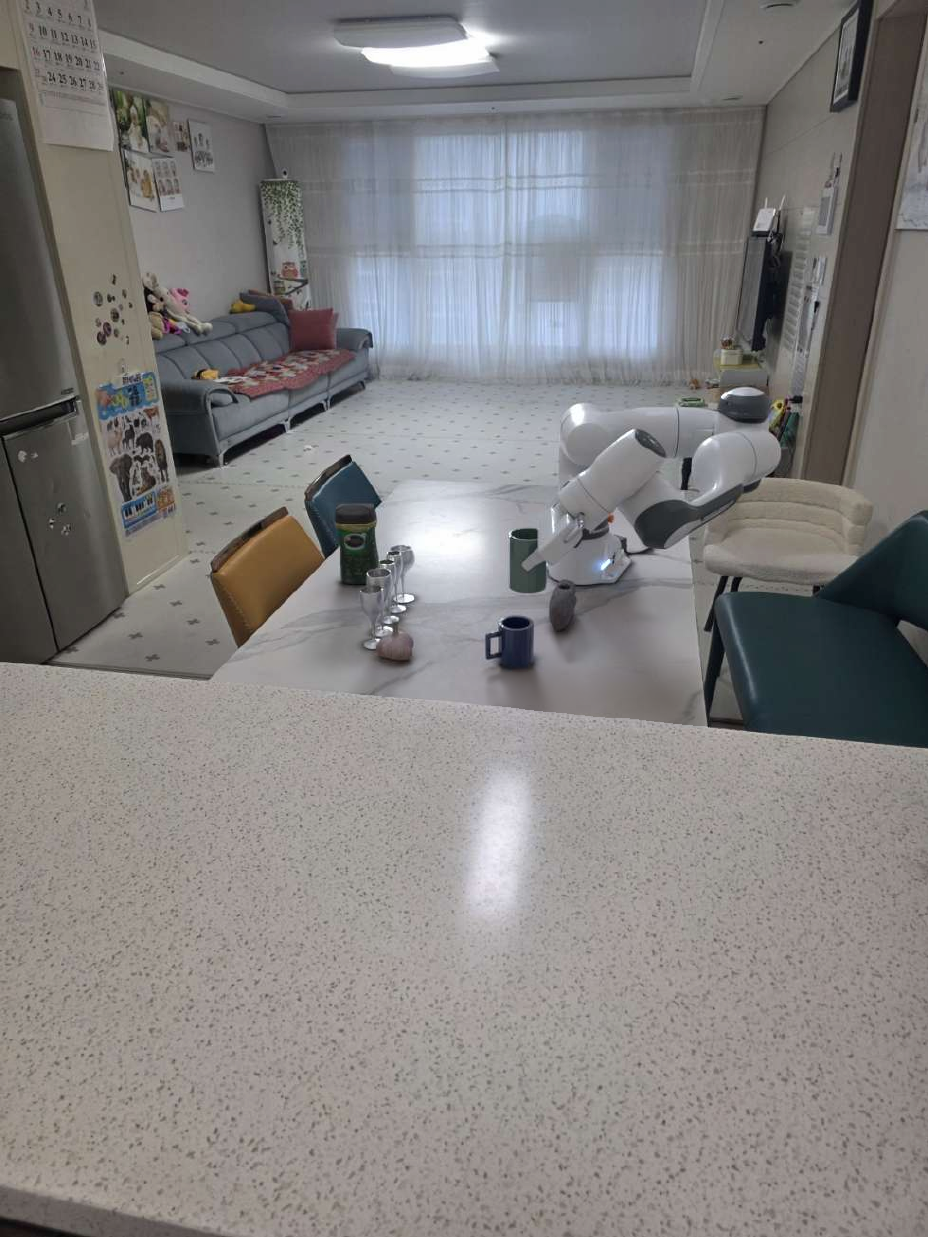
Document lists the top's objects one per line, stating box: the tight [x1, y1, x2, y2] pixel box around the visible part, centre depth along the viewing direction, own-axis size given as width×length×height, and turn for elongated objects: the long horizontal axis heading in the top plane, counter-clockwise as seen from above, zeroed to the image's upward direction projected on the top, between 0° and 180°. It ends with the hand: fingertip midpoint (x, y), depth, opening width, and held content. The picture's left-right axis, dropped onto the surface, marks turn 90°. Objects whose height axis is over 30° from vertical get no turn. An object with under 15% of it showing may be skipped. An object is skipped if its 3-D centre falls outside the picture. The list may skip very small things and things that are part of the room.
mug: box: [484, 614, 535, 670], centre depth 155 cm, size 10×7×8 cm
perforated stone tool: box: [548, 579, 578, 631], centre depth 171 cm, size 15×5×7 cm, turn 164°
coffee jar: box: [334, 502, 380, 585], centre depth 192 cm, size 10×8×19 cm
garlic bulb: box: [375, 620, 414, 661], centre depth 158 cm, size 8×7×8 cm
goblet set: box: [358, 544, 416, 650], centre depth 172 cm, size 28×6×13 cm, turn 169°
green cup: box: [507, 527, 548, 594], centre depth 147 cm, size 7×7×10 cm
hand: (524, 558), depth 147 cm, fingers closed on green cup, 7 cm apart
